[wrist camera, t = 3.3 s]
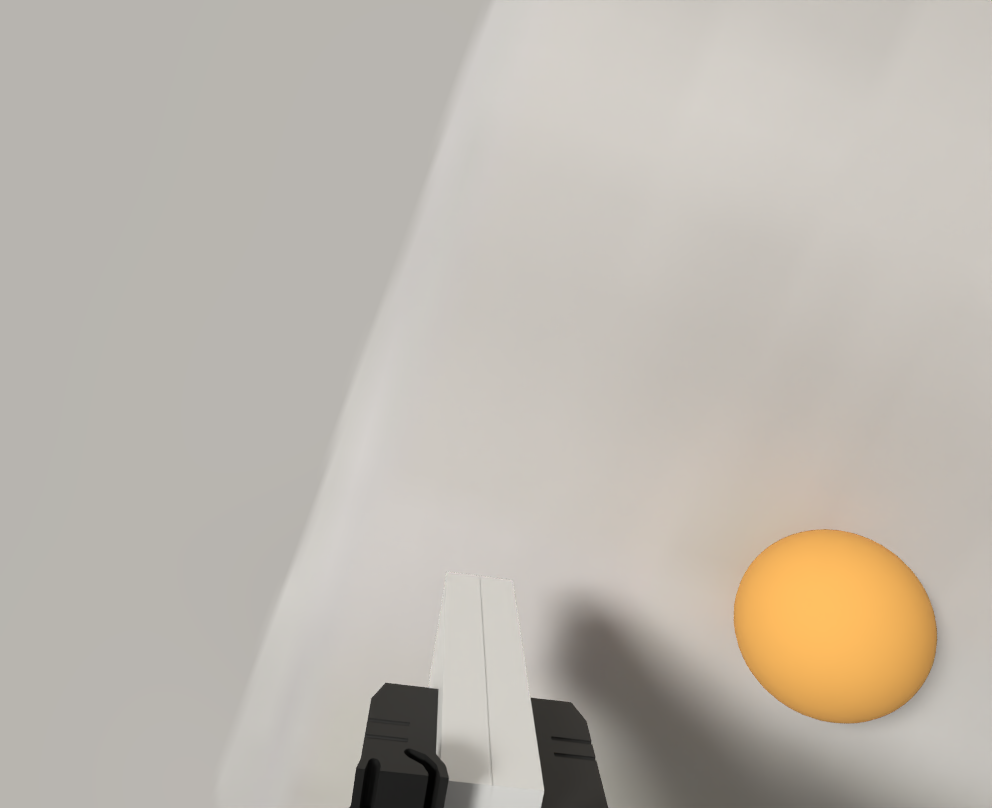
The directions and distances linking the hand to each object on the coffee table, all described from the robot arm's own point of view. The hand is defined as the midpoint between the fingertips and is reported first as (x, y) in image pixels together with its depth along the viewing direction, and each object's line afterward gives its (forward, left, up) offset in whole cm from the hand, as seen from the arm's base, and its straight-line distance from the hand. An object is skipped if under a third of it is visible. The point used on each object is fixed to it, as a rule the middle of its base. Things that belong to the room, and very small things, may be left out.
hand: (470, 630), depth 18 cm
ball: (-10, 0, -3) cm, 10 cm away
